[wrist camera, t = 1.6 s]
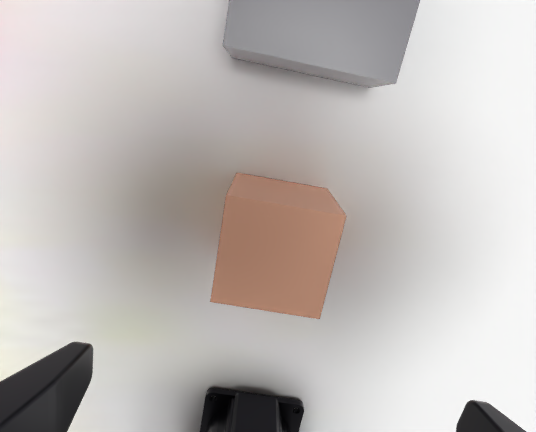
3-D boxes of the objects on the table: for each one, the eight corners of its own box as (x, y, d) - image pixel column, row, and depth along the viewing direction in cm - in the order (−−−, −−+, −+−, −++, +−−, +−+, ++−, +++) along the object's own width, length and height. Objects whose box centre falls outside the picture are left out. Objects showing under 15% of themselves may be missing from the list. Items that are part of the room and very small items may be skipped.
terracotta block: (307, 269, 21) (319, 319, 16) (223, 255, 20) (210, 301, 16) (327, 188, 19) (346, 215, 14) (236, 172, 19) (226, 194, 14)
